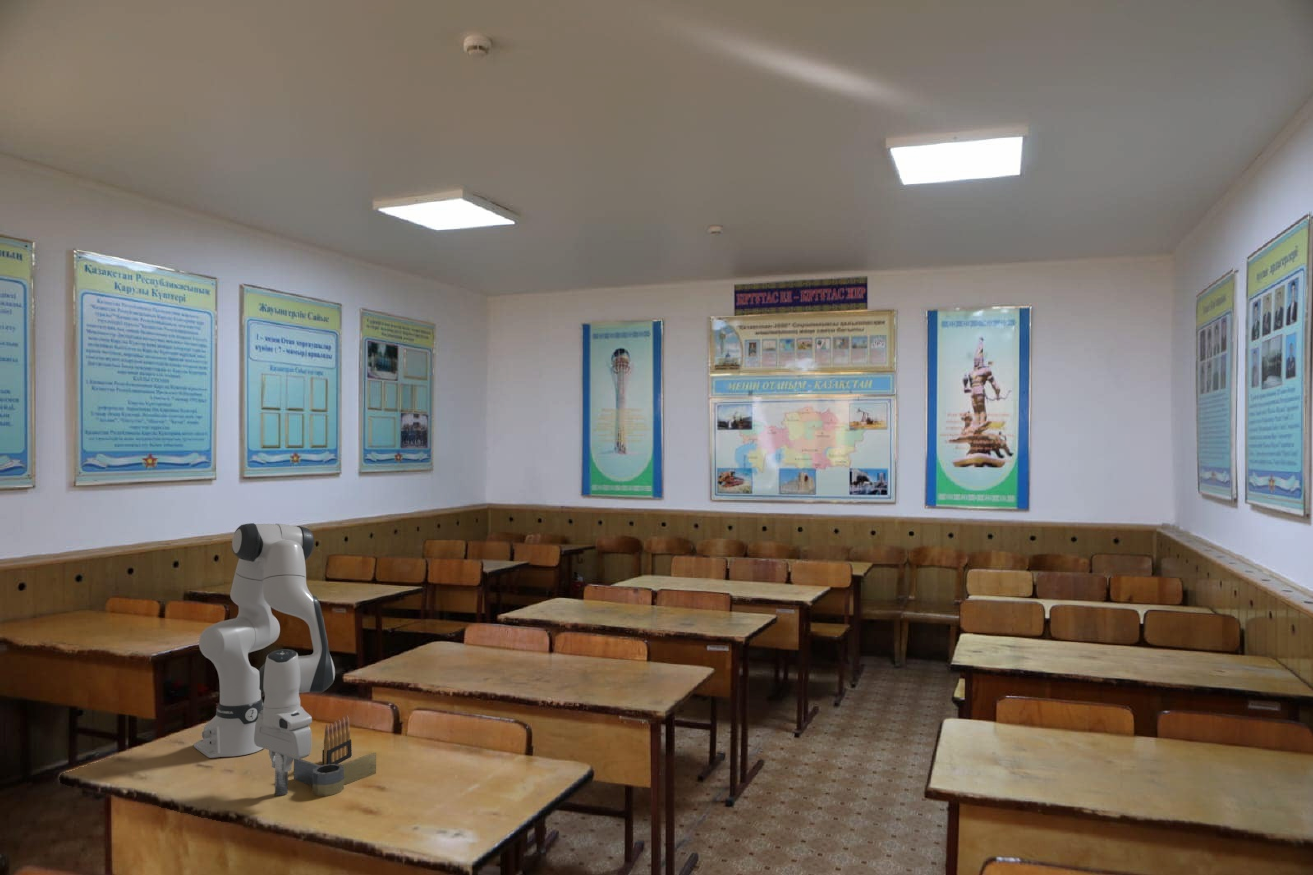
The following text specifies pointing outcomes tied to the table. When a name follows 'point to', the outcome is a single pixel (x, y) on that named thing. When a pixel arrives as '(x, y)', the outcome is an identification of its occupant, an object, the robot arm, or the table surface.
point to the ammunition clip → (337, 742)
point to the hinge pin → (280, 776)
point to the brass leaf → (349, 775)
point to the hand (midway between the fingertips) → (281, 769)
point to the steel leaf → (317, 773)
